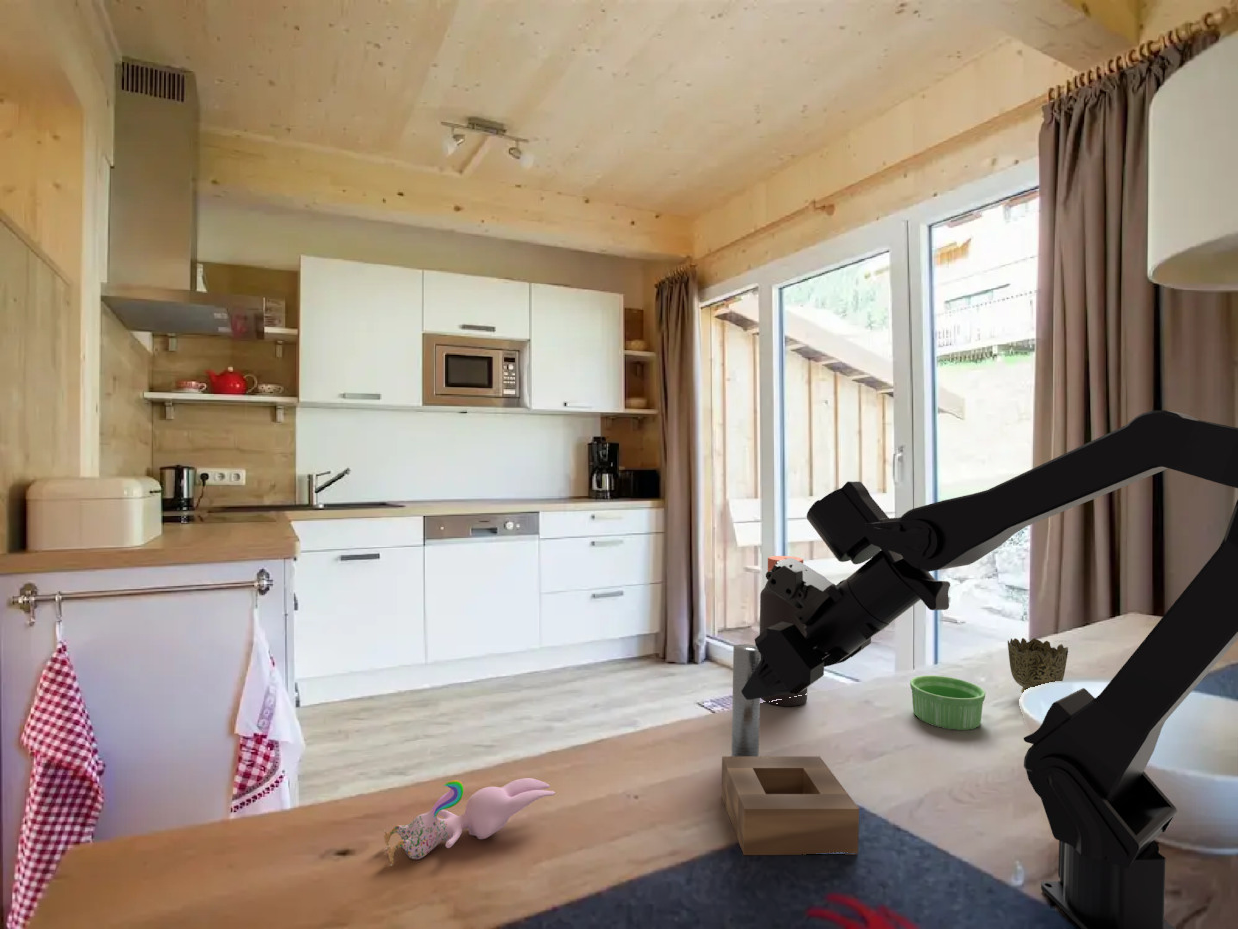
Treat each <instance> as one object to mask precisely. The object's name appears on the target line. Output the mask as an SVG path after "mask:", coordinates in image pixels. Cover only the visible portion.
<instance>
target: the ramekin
mask: <svg viewBox="0 0 1238 929" xmlns="http://www.w3.org/2000/svg"><path fill="white" fill-rule="evenodd" d="M909 685H910V689H911V694H912V696H911V697H912V709H913V714H914V716H915V715H916V716H917V717H918V718H920V719H921V720H923V721H925V722H926V723H925V722H924V723H925V724H928V723H929V724H928V725H930V724H933V725H935V726H934V727H936V726H939V727H938V728H940V727H944V728H943V729H945V728H948V729H947V730H951V729H957V730H956V731H969V729H971V730H975V729H977V728H978V727H980V725H981V722H982V714H983V705H984V701H985V698H986V692H985V690H984V689H983V688H982V687H981V686H979V685H977V684H975V683H972V682H971V681H966V680H963V679H960V678H955V677H949V676H943V675H920V676H915V677H912V678H911V680H910V682H909ZM916 716H915V717H916ZM917 717H916V718H917ZM918 718H917V719H918ZM920 719H919V720H920ZM921 720H920V721H921ZM923 721H922V722H923ZM933 725H932V726H933ZM976 727H977V728H976Z"/></svg>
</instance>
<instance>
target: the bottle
mask: <svg viewBox="0 0 1238 929" xmlns="http://www.w3.org/2000/svg"><path fill="white" fill-rule="evenodd" d="M788 558H793V559H796V560H798V561H800V562H801V563H803V564H804V559H803V558H801V557H797V556H791V555H772V556H769V557H767V572H769V571H771V570H772V569H773V567H774V565H776V563H777V561H780V560H784V559H788ZM759 596H760V598H759V600H760V601H759V604H760V605H759V635H760V634H761V633H762V632H764V631H765V630H766V629H767V628H769V627H771V626H774V625H776V624H778V623H780V622H786V623H792V624H795V625H796V627H797V628H798V629H799V631H800V632H801V633H802V634H803V636H804V637H806V634H807V632H806V630H805V627H806V625H805V624H802V623H801V622H800V621H799V620H798V618H797V617H796V616H795V614H796V613H797V612H798V611H799V610H800V609H799V608H796V607H794V606H793V605H791V604H790V603H788V602H787V601H785V600H784V599H782V598H781V597H779V596H778V595H776V594H772V593H770V592H769V591H767V590H766V588H765V587H763V588H762V590H761V591H760V595H759ZM806 693H807V695H805V694H806ZM798 695H802V696H798ZM794 696H797V697H794ZM789 697H791V698H789ZM776 699H782V700H777V701H773V702H771V701H772V700H776ZM760 700H762V701H764V702H765V703H768V702H769V701H770V703H769V704H770V705H774V706H779V707H797V706H798V705H799V706H801V705H804V704H805V703H806V702H807V700H808V687H807V688H806V689H804V690H803V691H801V692H800V693H798V694H797V695H796V694H783V695H776V696H769V697H763V698H760ZM776 703H778V704H776ZM799 706H798V707H799Z"/></svg>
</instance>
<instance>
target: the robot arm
mask: <svg viewBox="0 0 1238 929" xmlns="http://www.w3.org/2000/svg"><path fill="white" fill-rule="evenodd" d="M1168 469H1170V470H1174V471H1177V472H1180V473H1184V474H1187V475H1191V476H1193V477H1197V478H1200V479H1203V480H1206V481H1207V480H1208V481H1210V482H1212V483H1213V482H1214V483H1217V484H1220V485H1222V486H1223V485H1224V486H1228V487H1231V488H1236V489H1238V427H1236V426H1230V425H1225V424H1221V423H1215V422H1211V421H1207V420H1201V419H1197V418H1195V416H1192V415H1189V414H1186V413H1183V412H1177V411H1171V410H1164V409H1163V410H1162V409H1161V410H1160V409H1159V410H1150V411H1147V412H1143V413H1141V414H1139V415H1137V416H1135V417H1134V418H1133V419H1132V420H1130V421H1129V422H1128V423H1127V424H1125V425H1122V426H1121V427H1118V428H1117V429H1114V430H1113V431H1110V432H1108V433H1106V434H1104V435H1101V436H1100V437H1098V438H1096V439H1094V440H1091V441H1089V442H1087V443H1085V444H1082V445H1081V446H1078V447H1076V448H1073V449H1071V450H1070V451H1068V452H1066V453H1064V454H1061V455H1059V456H1057V457H1054V458H1053V459H1050V460H1049V461H1047V462H1044V463H1042V464H1040V465H1037V466H1035V467H1033V468H1032V469H1029V470H1027V471H1025V472H1023V473H1021V474H1019V475H1017V476H1014V477H1012V478H1010V479H1008V480H1006V481H1004V482H1001V483H999V484H997V485H995V486H993V487H991V488H989V489H986V490H982V491H978V492H975V493H971V494H965V495H962V496H958V497H953V498H949V499H944V500H940V501H936V502H933V503H929V504H926V505H922V506H918V507H915V508H912V509H909V510H907V511H906V512H905V513H904V514H902V515H901V517H889V516H888V515H887V514H886V513H885V512H884V510H883V509H882V508H881V506H879V504H878V503H877V502H876V501H875V500H874V498H873V497H872V496H871V494H870V492H869V490H868V488H867V487H866V486H865V485H864V484H863V483H862V481H860V480H856V481H855V480H854V481H849V480H848V481H846V482H845V484H843V485H842V487H841V488H838V489H836V490H833V491H832V492H830V493H828V494H826V495H825V496H824V497H822V498H821V499H817V500H816V501H815V502H814V503H813V504H811V506H810V507H809V509H808V510H807V513H806V519H807V521H808V522H809V524H810V525H811V526H812V527H813V529H814V530H815V531H816V533H817V534H818V536H819V537H820V538H821V539H822V541H823V542H824V544H825V545H826V546H827V547H828V549H829V550H830V552H831V553H832V554H833V556H834V557H835V558H836V559H837V561H839V562H841V563H845V562H849V561H851V563H852V564H853V565H860V564H862V563H864V564H863V565H861V566H860V567H859V568H858V569H857V570H856V571H854V572H853V573H852V574H851V575H850V576H848V577H846V578H845V579H843V580H841V581H840V582H838V583H837V584H835V583H833V582H831V581H830V580H828V579H827V578H826V577H825V576H824V575H823V574H821V573H819V572H817V571H816V570H814V569H813V568H811V567H809V566H808V565H806V564H805V563H804V562H803V563H801V562H800V561H798V560H796V559H793V558H788V559H784V560H780V561H777V563H776V565H774V567H773V569H772V570H771V571H769V572H768V571H767V572H766V573H765V579H766V580H767V581H766V583H765V585H764V588H766V590H767V591H769V592H770V593H772V594H776V595H778V596H779V597H781V598H782V599H784V600H785V601H787V602H788V603H790V604H791V605H793V606H794V607H796V608H799V609H800V610H799V611H798V612H797V613H796V614H795V616H796V617H797V618H798V620H799V621H800V622H801V623H802V624H805V625H806V627H805V630H806V632H807V634H806V637H804V636H803V634H802V633H801V632H800V631H799V629H798V628H797V627H796V625H795V624H792V623H786V622H780V623H778V624H776V625H774V626H771V627H769V628H767V629H766V630H765V631H764V632H762V633H761V634H760V633H759V635H758V636H757V637H755V638H754V645H755V646H757V649H758V651H759V653H760V654H761V660H760V662H759V664H758V666H757V667H756V669H755V670H754V672H753V674H752V675H751V677H750V678H749V680H748V681H747V683H746V684H745V686H744V687H743V689H742V690H741V692H742V694H743V695H744V697H745V698H746V699H747V700H751V699H757V698H760V699H761V698H763V697H769V696H776V695H783V694H796V695H797V694H798V693H800V692H801V691H803V690H804V689H806V688H807V689H808V688H809V687H810V686H812V685H813V684H815V682H817V681H818V680H819V679H821V678H822V677H823V676H825V668H826V667H829V666H833V665H838V664H840V663H844V662H846V661H847V660H849V659H850V658H853V657H855V656H856V655H858V654H859V653H860V652H861V651H863V650H864V649H865V648H866V647H869V645H870V644H872V638H873V636H875V635H877V634H879V633H880V632H881V631H883V630H884V629H886V628H887V627H888V626H889V625H890V624H891V623H892V622H893V621H895V620H896V619H897V618H899V617H900V616H901V615H903V614H904V613H905V612H906V611H908V610H909V609H910V608H911V607H913V606H914V605H915V604H917V603H918V602H919V601H921V602H923V604H924V605H925V607H927V609H928V610H931V611H946V610H948V609H949V607H950V599H949V590H950V587H951V583H950V582H949V581H947V580H938V579H935V578H934V577H933V575H932V573H930V572H934V571H941V570H947V569H954V568H958V567H964V566H968V565H969V566H970V565H972V564H974V563H975V562H977V561H979V560H980V559H982V558H983V557H985V556H986V555H988V554H990V553H992V552H994V550H996V549H998V548H999V547H1000V546H1003V545H1004V544H1005V542H1007V541H1008V540H1009V539H1011V538H1012V537H1013V536H1014V535H1015V534H1017V533H1018V532H1020V531H1022V530H1023V529H1025V528H1026V527H1028V526H1031V525H1033V524H1035V523H1038V522H1041V521H1043V520H1046V519H1048V518H1050V517H1053V516H1056V515H1058V514H1060V513H1063V512H1065V511H1068V510H1070V509H1072V508H1075V507H1078V506H1080V505H1083V504H1085V503H1087V502H1089V501H1092V500H1094V499H1097V498H1100V497H1101V496H1104V495H1107V494H1109V493H1111V492H1114V491H1116V490H1119V489H1122V488H1124V487H1126V486H1129V485H1131V484H1134V483H1136V482H1139V481H1142V480H1144V479H1145V478H1149V477H1150V476H1153V475H1156V474H1158V473H1160V472H1163V471H1165V470H1168ZM1237 641H1238V499H1237V501H1236V502H1235V505H1234V508H1233V511H1232V514H1231V517H1230V520H1229V522H1228V525H1227V528H1226V531H1225V534H1224V537H1223V539H1222V541H1221V543H1220V546H1219V547H1218V548H1217V550H1215V552H1214V553H1213V554H1212V556H1211V557H1210V558H1209V559H1208V561H1207V562H1206V563H1205V564H1204V566H1203V567H1202V568H1201V569H1200V571H1199V572H1198V573H1197V574H1196V575H1195V577H1194V578H1193V579H1192V581H1191V582H1190V583H1189V584H1188V586H1187V587H1186V588H1185V589H1184V590H1183V592H1181V594H1180V595H1179V597H1178V598H1177V599H1176V600H1175V601H1174V602H1173V604H1172V605H1171V606H1170V607H1169V609H1168V610H1167V611H1166V612H1165V614H1164V615H1163V616H1162V617H1161V618H1160V620H1159V621H1158V622H1157V623H1156V625H1155V626H1154V627H1153V628H1152V630H1151V631H1150V632H1149V633H1148V635H1147V636H1146V637H1145V638H1144V640H1143V641H1142V642H1141V643H1140V645H1139V646H1137V648H1136V650H1134V651H1133V653H1132V654H1131V656H1130V657H1129V658H1128V659H1127V661H1126V662H1124V664H1123V666H1121V668H1120V669H1119V670H1118V671H1117V673H1116V674H1114V676H1113V678H1112V679H1111V681H1110V682H1109V683H1107V685H1106V686H1105V688H1104V689H1103V690H1102V691H1101V692H1100V693H1099V695H1097V696H1096V697H1094V696H1093V695H1092V694H1091V693H1090V692H1089V691H1088V690H1087V689H1086V688H1083V687H1082V688H1081V689H1079V690H1076V691H1074V692H1072V693H1070V694H1068V695H1066V696H1063V697H1062V698H1060V699H1058V700H1056V701H1054V702H1052V704H1051V706H1050V707H1049V709H1048V710H1047V712H1046V714H1045V716H1044V719H1043V720H1042V723H1041V725H1040V726H1039V728H1038V729H1037V730H1035V731H1034V732H1032V733H1030V734H1028V735H1026V736H1024V737H1023V741H1024V742H1025V743H1029V744H1031V746H1030V747H1029V748H1028V750H1027V751H1026V754H1025V756H1024V759H1023V768H1024V769H1025V772H1026V774H1027V779H1028V782H1029V783H1030V785H1031V787H1032V789H1033V790H1034V792H1035V793H1036V794H1037V795H1038V797H1039V798H1040V800H1041V803H1042V805H1043V809H1044V812H1045V815H1046V818H1047V821H1048V824H1049V827H1050V830H1051V834H1052V836H1053V838H1054V839H1055V840H1057V841H1058V867H1057V868H1058V869H1057V870H1058V874H1057V875H1058V878H1059V880H1044V881H1040V890H1042V892H1043V893H1044V894H1045V895H1046V896H1048V897H1049V899H1050V900H1052V901H1053V902H1054V903H1055V904H1056V905H1057V906H1058V907H1059V909H1061V910H1062V911H1063V912H1064V913H1065V914H1066V915H1067V916H1068V917H1069V918H1070V919H1071V920H1072V921H1073V922H1074V923H1075V924H1076V925H1077V926H1078V927H1080V928H1081V929H1176V927H1175V926H1173V925H1172V924H1171V923H1169V922H1168V921H1167V920H1165V900H1166V899H1165V898H1166V897H1165V896H1166V895H1165V894H1166V893H1165V892H1166V862H1167V860H1166V857H1165V856H1164V855H1163V854H1161V853H1160V847H1159V844H1158V843H1157V842H1156V841H1155V840H1156V839H1157V838H1158V837H1159V836H1160V835H1161V834H1162V833H1164V832H1166V831H1167V830H1168V828H1169V826H1170V825H1171V823H1172V821H1173V820H1174V817H1175V816H1176V815H1177V813H1178V810H1177V807H1176V806H1175V805H1174V804H1173V803H1172V802H1171V801H1170V799H1169V798H1168V797H1167V795H1165V794H1164V792H1163V791H1162V790H1161V789H1160V788H1159V787H1158V785H1157V784H1155V782H1154V781H1153V779H1151V778H1150V776H1149V775H1148V774H1147V773H1146V772H1145V769H1146V767H1147V765H1148V763H1149V761H1150V760H1151V758H1152V756H1153V754H1154V751H1155V749H1156V746H1157V743H1158V740H1159V738H1160V735H1161V731H1162V729H1163V727H1164V725H1165V723H1166V721H1167V720H1168V719H1169V718H1170V717H1171V716H1172V714H1173V713H1174V712H1175V711H1176V710H1177V708H1179V706H1180V705H1181V704H1182V703H1183V702H1184V701H1185V700H1186V699H1187V697H1188V696H1189V695H1190V694H1191V693H1192V692H1193V690H1194V689H1195V688H1197V686H1198V685H1199V684H1200V682H1201V681H1202V680H1203V679H1204V678H1205V677H1206V676H1207V675H1208V674H1209V673H1210V671H1211V670H1212V669H1213V668H1214V667H1215V666H1216V664H1217V663H1219V661H1220V660H1221V659H1222V658H1223V657H1224V655H1225V654H1226V653H1228V651H1229V650H1230V649H1231V648H1232V647H1233V645H1234V644H1235V643H1236V642H1237Z"/></svg>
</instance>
